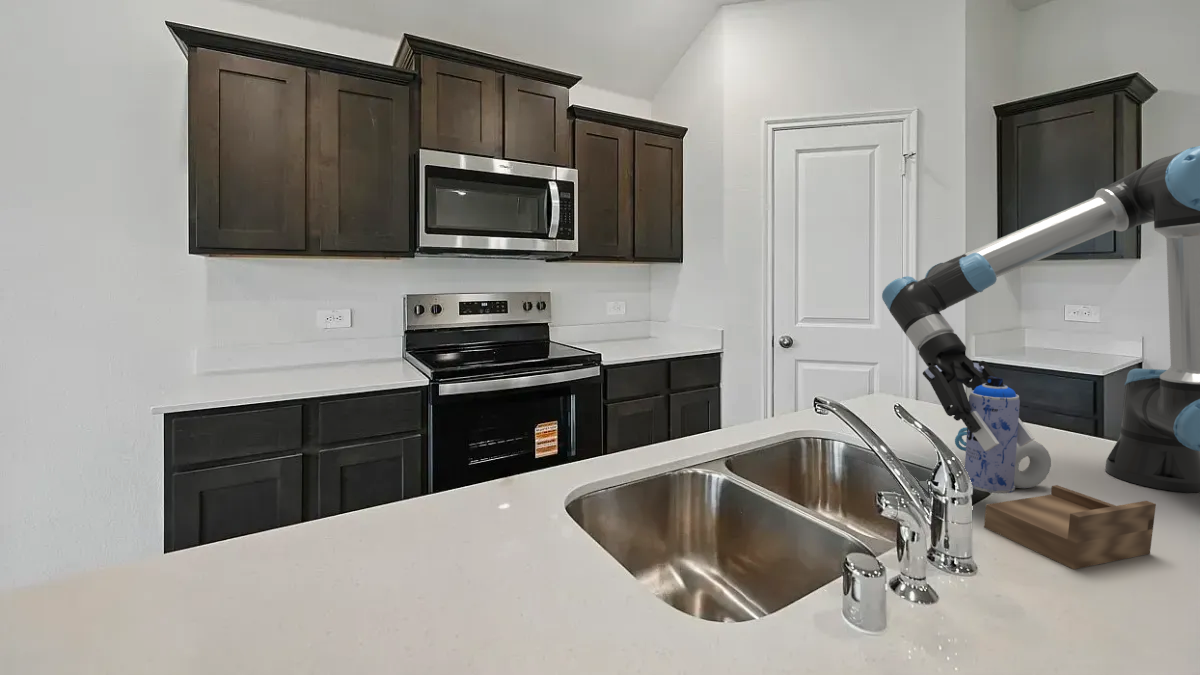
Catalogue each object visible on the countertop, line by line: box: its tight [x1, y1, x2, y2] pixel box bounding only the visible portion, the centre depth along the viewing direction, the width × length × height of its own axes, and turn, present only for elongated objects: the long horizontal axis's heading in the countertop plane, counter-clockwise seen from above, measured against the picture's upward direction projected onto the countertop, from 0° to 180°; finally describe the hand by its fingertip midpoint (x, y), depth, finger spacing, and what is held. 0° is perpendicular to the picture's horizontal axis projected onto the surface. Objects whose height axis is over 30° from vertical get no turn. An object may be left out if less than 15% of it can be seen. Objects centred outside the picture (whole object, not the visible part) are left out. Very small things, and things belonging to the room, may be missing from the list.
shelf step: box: [983, 484, 1157, 570], centre depth 90 cm, size 16×14×8 cm
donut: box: [1014, 440, 1052, 489], centre depth 111 cm, size 10×4×10 cm, turn 93°
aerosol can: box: [964, 376, 1021, 494], centre depth 101 cm, size 8×8×20 cm
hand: (1009, 444), depth 98 cm, fingers closed on aerosol can, 7 cm apart
